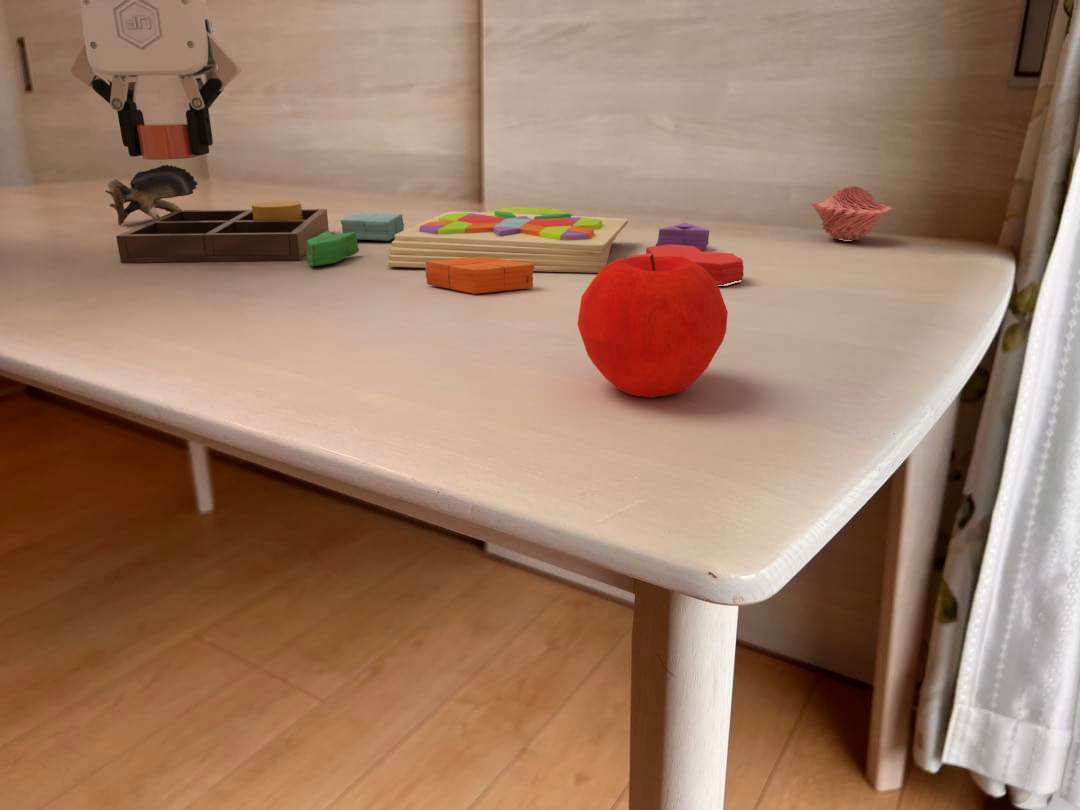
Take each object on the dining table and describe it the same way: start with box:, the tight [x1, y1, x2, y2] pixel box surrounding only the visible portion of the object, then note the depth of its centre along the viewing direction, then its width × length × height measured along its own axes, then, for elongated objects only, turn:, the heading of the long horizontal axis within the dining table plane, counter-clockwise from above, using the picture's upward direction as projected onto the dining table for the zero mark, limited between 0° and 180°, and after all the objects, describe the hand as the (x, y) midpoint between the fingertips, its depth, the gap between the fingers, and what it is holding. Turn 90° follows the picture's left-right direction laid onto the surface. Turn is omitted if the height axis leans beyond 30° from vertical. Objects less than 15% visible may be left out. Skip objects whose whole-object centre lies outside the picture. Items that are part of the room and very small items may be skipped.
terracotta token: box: [136, 122, 199, 161], centre depth 80 cm, size 5×5×3 cm
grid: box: [115, 208, 330, 264], centre depth 87 cm, size 16×16×2 cm
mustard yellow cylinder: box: [251, 199, 303, 220], centre depth 91 cm, size 5×5×3 cm
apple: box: [577, 254, 729, 398], centre depth 46 cm, size 8×8×7 cm
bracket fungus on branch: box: [105, 164, 199, 226], centre depth 101 cm, size 8×7×9 cm
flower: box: [810, 186, 894, 241], centre depth 89 cm, size 8×8×6 cm
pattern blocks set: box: [306, 206, 745, 295], centre depth 83 cm, size 38×34×3 cm
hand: (170, 152), depth 80 cm, fingers closed on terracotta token, 5 cm apart
